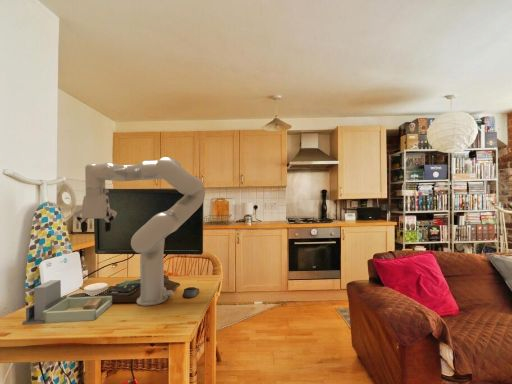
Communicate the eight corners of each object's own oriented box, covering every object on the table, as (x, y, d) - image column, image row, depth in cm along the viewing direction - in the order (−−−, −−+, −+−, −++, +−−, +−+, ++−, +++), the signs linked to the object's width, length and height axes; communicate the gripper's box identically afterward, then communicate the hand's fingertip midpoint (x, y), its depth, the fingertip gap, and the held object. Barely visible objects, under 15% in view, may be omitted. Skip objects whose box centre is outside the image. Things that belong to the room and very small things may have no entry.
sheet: (60, 309, 112) (60, 279, 112) (45, 319, 103) (45, 287, 103) (50, 310, 112) (50, 280, 112) (34, 320, 103) (34, 287, 103)
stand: (69, 306, 116) (69, 294, 116) (44, 323, 100) (44, 309, 100) (50, 307, 115) (50, 294, 115) (22, 324, 99) (22, 310, 100)
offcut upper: (101, 303, 113) (101, 298, 113) (95, 310, 106) (95, 304, 106) (90, 304, 112) (90, 299, 112) (83, 311, 105) (83, 305, 105)
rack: (112, 304, 117) (112, 294, 117) (94, 320, 102) (94, 309, 102) (67, 306, 115) (67, 296, 115) (42, 322, 100) (42, 311, 100)
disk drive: (130, 296, 127) (144, 285, 142) (130, 290, 127) (144, 280, 142) (108, 296, 127) (124, 285, 142) (108, 290, 127) (124, 280, 142)
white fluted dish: (99, 288, 138) (99, 281, 138) (112, 291, 134) (112, 284, 134) (79, 294, 130) (79, 287, 130) (92, 298, 125) (92, 290, 125)
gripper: (119, 192, 125) (120, 230, 125) (79, 192, 124) (80, 231, 123) (112, 192, 118) (113, 232, 117) (69, 192, 116) (70, 233, 116)
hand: (96, 231), depth 120 cm, fingers open, 9 cm apart
